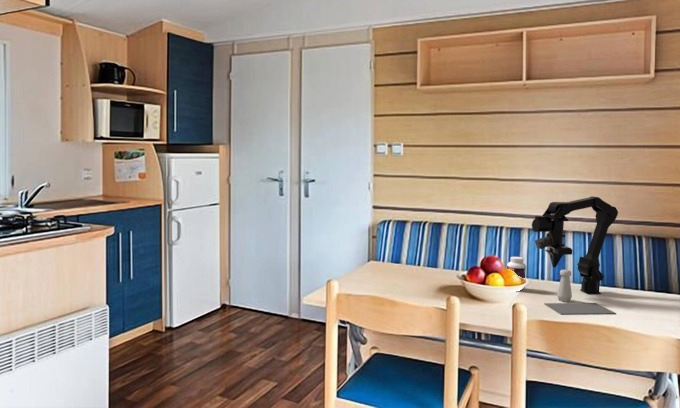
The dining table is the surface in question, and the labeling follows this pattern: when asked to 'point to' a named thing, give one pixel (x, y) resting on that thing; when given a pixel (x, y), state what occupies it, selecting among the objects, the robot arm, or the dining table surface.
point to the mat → (578, 308)
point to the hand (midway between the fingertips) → (554, 267)
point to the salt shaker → (564, 286)
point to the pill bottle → (517, 266)
